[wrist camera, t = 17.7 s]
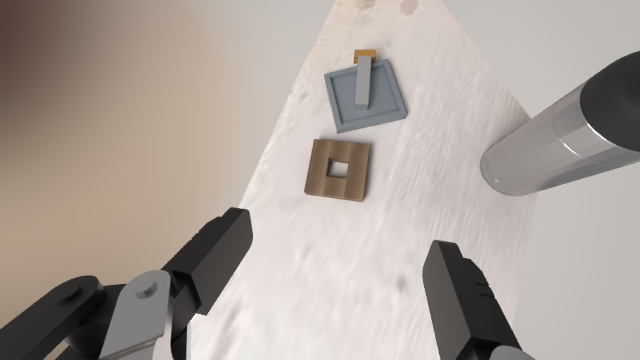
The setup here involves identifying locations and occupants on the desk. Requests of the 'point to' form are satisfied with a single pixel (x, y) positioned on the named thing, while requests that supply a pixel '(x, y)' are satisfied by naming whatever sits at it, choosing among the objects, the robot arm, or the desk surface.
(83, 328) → the robot arm
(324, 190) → the socket plate
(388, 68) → the tray
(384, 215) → the desk surface
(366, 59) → the key
